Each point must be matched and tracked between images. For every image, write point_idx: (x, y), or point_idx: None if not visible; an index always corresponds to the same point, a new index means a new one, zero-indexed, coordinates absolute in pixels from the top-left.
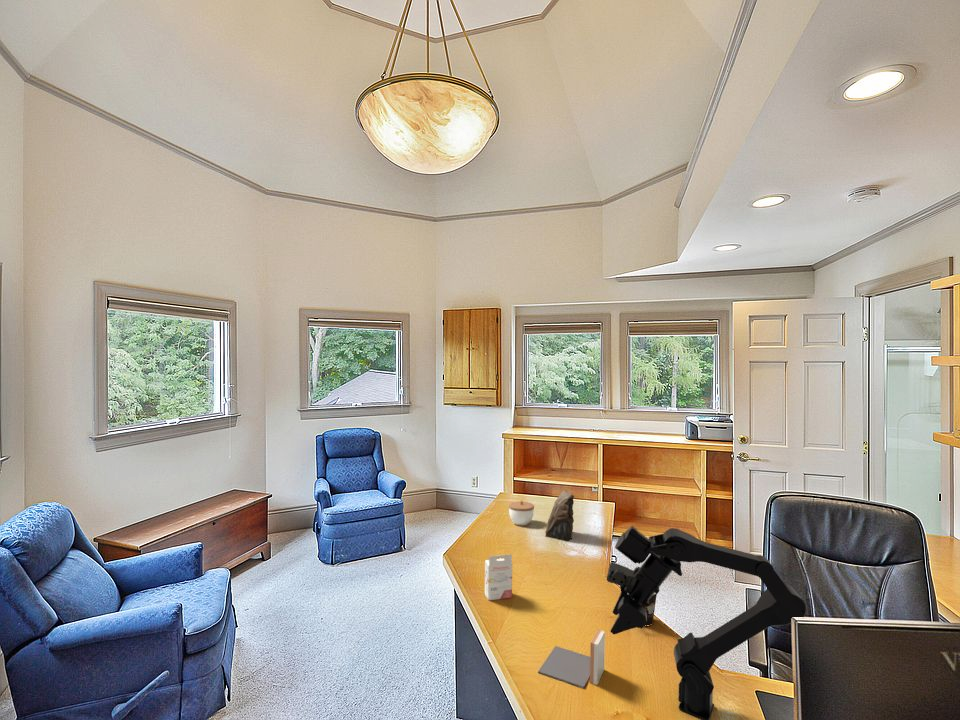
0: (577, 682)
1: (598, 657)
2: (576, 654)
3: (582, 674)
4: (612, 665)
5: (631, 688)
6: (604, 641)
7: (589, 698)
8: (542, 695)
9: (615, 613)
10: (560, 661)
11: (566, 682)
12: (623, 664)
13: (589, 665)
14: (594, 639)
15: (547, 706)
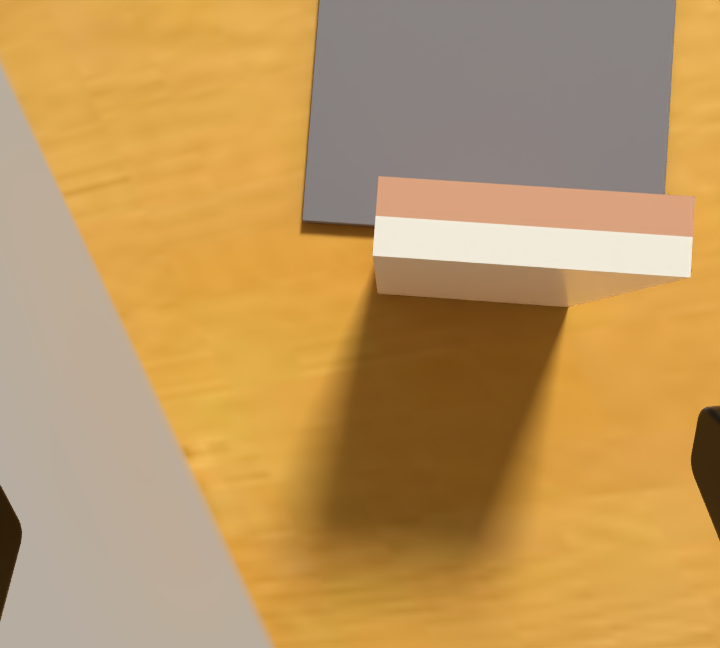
0: (328, 171)
1: (410, 276)
2: (645, 88)
3: None
4: (648, 352)
5: (447, 510)
6: (638, 287)
7: (226, 275)
8: (126, 4)
9: (707, 464)
10: (505, 6)
11: (313, 105)
12: None
13: None
14: (463, 201)
15: (45, 60)
